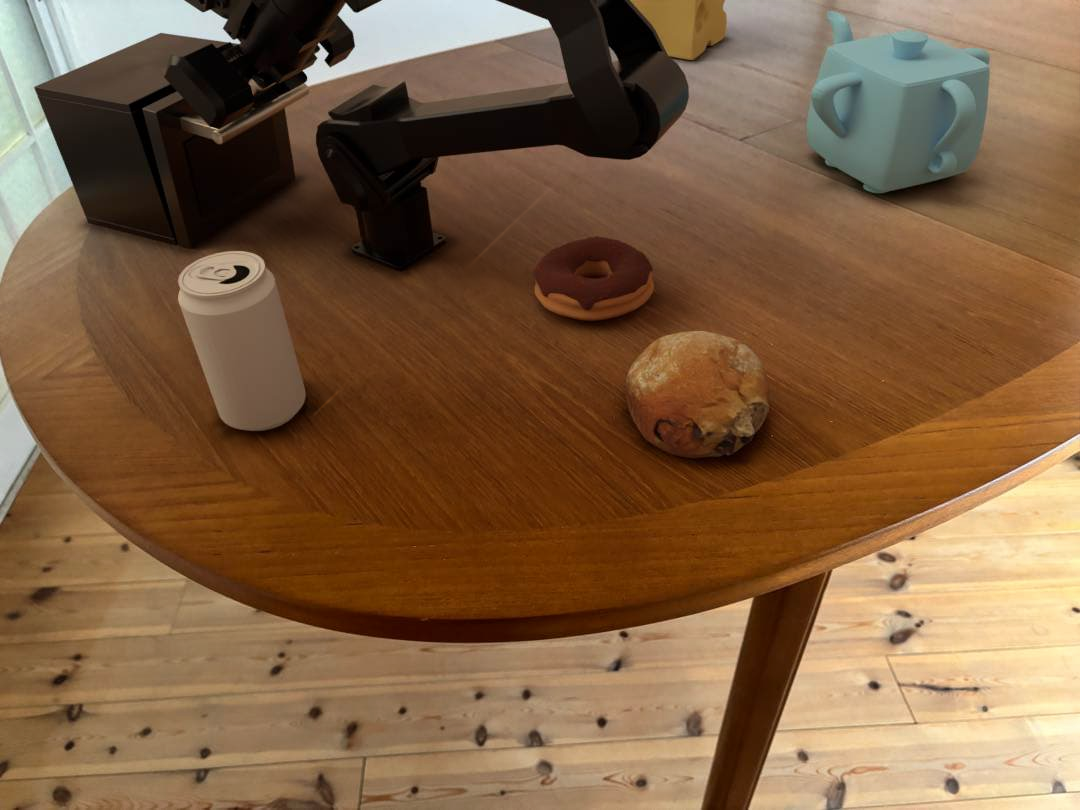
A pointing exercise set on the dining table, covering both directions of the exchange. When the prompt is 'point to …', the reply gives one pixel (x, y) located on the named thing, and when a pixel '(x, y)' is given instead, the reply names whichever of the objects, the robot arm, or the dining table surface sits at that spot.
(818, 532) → the dining table surface
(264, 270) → the beverage can
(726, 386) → the bread roll
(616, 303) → the donut
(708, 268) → the dining table surface
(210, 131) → the oven door
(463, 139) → the robot arm
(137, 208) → the oven
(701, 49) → the cheese
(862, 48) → the teapot
